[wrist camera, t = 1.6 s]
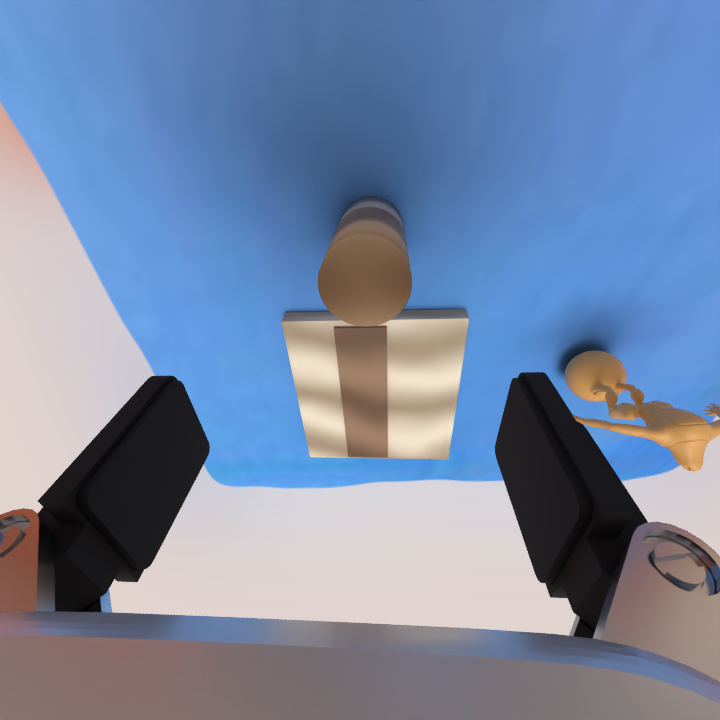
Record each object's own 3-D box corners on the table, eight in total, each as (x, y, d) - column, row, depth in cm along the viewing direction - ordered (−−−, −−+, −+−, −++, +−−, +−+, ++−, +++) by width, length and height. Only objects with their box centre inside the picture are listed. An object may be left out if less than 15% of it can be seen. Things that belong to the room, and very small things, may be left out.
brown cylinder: (336, 197, 22) (312, 239, 15) (404, 194, 22) (413, 236, 15) (342, 264, 25) (323, 327, 18) (403, 262, 25) (410, 326, 17)
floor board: (286, 312, 28) (280, 323, 26) (465, 309, 26) (469, 320, 25) (312, 445, 37) (309, 459, 35) (446, 447, 36) (448, 461, 34)
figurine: (526, 383, 30) (593, 512, 21) (536, 324, 27) (621, 445, 17) (630, 375, 29) (753, 508, 19) (654, 312, 26) (817, 435, 16)
